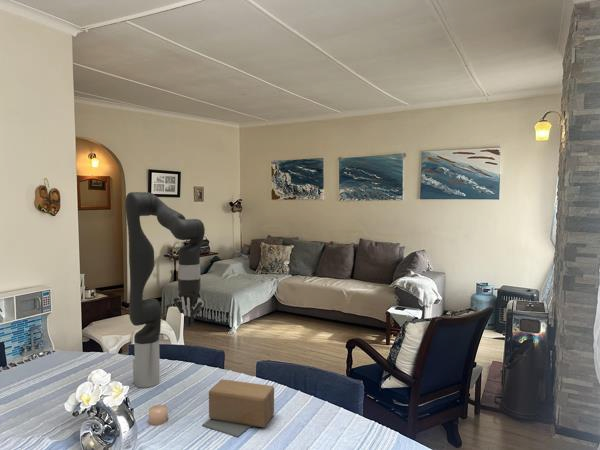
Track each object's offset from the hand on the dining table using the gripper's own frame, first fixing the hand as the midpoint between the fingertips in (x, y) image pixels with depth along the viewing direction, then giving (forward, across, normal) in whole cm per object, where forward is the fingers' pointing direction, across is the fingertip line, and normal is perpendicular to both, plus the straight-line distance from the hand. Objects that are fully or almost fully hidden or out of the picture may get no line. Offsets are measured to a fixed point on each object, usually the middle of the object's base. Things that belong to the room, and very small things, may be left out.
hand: (189, 326), depth 148 cm
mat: (+29, +19, -1) cm, 35 cm away
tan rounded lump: (+29, -2, -12) cm, 32 cm away
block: (+23, +11, 0) cm, 26 cm away
